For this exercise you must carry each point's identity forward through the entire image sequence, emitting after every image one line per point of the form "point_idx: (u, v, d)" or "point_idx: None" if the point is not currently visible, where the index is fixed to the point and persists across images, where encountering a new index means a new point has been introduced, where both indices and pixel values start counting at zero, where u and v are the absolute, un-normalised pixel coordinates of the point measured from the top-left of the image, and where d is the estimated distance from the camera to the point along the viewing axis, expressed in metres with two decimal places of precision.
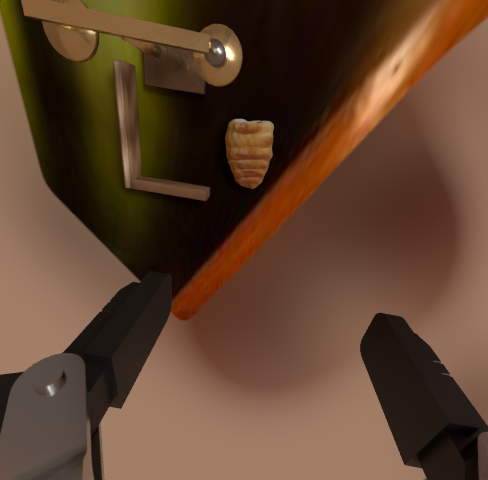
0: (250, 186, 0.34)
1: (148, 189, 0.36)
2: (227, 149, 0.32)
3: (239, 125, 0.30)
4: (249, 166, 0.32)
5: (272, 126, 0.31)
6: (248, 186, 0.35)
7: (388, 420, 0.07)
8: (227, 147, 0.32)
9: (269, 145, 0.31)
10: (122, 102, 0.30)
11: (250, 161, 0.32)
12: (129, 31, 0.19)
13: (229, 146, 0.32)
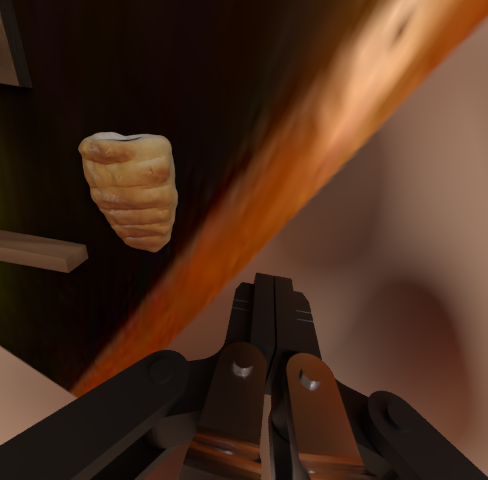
0: (148, 249, 0.19)
1: None
2: None
3: (89, 147, 0.15)
4: (131, 221, 0.17)
5: (165, 145, 0.16)
6: (145, 249, 0.20)
7: None
8: (89, 185, 0.17)
9: (162, 182, 0.16)
10: None
11: (129, 213, 0.17)
12: None
13: (89, 185, 0.17)
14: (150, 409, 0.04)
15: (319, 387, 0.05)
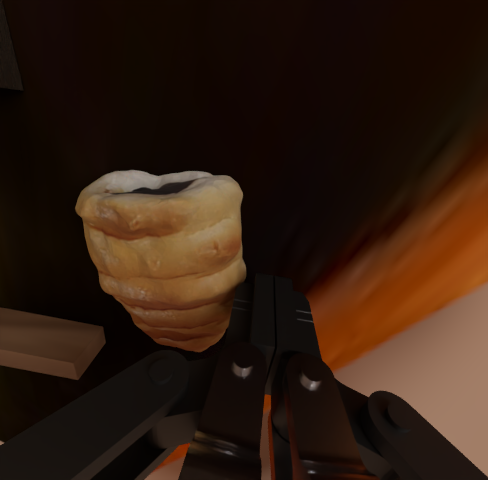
0: None
1: None
2: None
3: (96, 210, 0.07)
4: (170, 324, 0.10)
5: (236, 194, 0.09)
6: None
7: None
8: None
9: (229, 261, 0.09)
10: None
11: (169, 314, 0.09)
12: None
13: None
14: (150, 409, 0.04)
15: (319, 387, 0.05)
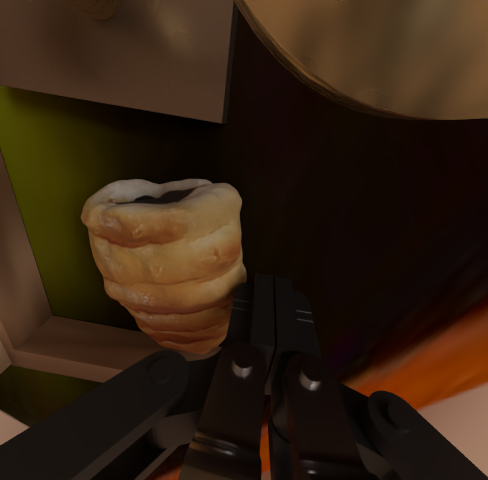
0: None
1: (59, 372, 0.13)
2: None
3: (100, 220, 0.08)
4: (173, 327, 0.10)
5: (235, 201, 0.09)
6: None
7: None
8: None
9: (229, 266, 0.09)
10: None
11: (172, 318, 0.10)
12: None
13: None
14: (150, 409, 0.04)
15: (319, 387, 0.05)
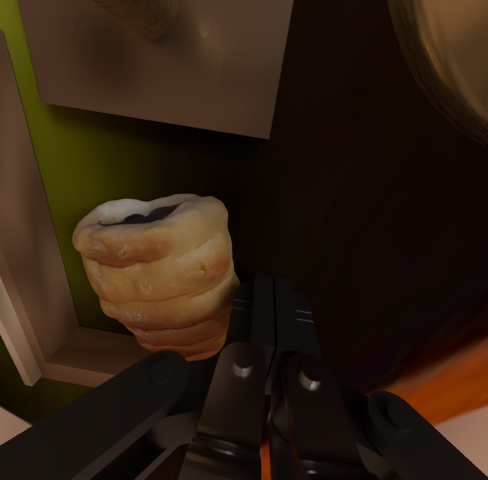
0: None
1: (89, 384, 0.13)
2: None
3: (88, 243, 0.08)
4: (170, 342, 0.10)
5: (220, 214, 0.09)
6: None
7: None
8: None
9: (219, 278, 0.09)
10: None
11: (167, 333, 0.10)
12: None
13: None
14: (150, 409, 0.04)
15: (319, 387, 0.05)
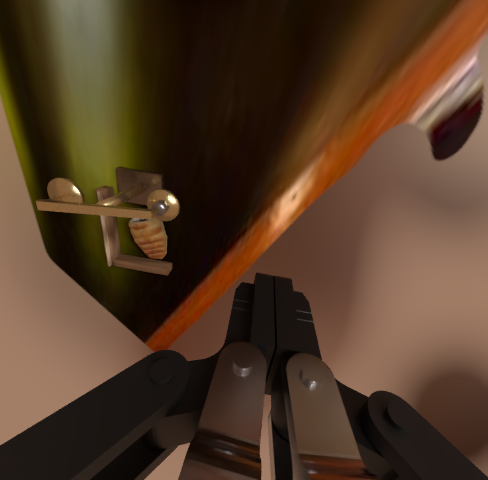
0: (158, 258, 0.47)
1: (124, 267, 0.48)
2: None
3: (132, 225, 0.42)
4: (150, 248, 0.45)
5: None
6: (157, 258, 0.47)
7: None
8: (133, 236, 0.45)
9: (159, 232, 0.44)
10: None
11: (148, 245, 0.44)
12: (101, 213, 0.31)
13: (133, 236, 0.45)
14: (150, 409, 0.04)
15: (319, 387, 0.05)
